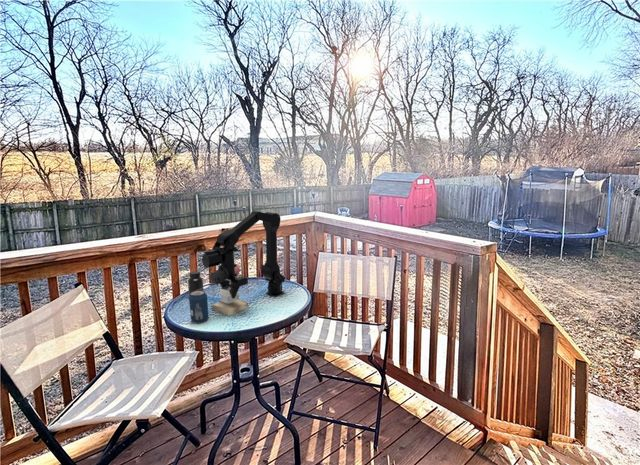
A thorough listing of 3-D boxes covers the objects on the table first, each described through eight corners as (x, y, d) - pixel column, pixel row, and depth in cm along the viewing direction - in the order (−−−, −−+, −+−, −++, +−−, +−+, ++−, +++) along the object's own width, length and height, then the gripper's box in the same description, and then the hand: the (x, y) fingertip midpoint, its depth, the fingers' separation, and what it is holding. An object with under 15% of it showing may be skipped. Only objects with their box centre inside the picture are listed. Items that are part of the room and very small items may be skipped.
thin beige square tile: (232, 302, 173) (232, 296, 172) (248, 307, 166) (248, 302, 166) (212, 309, 164) (212, 304, 164) (228, 316, 158) (228, 310, 157)
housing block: (232, 297, 168) (231, 284, 167) (239, 299, 165) (238, 286, 164) (221, 301, 163) (220, 288, 162) (228, 303, 161) (227, 290, 159)
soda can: (203, 315, 159) (201, 288, 156) (212, 320, 154) (209, 292, 152) (187, 320, 154) (185, 292, 152) (196, 325, 149) (193, 297, 147)
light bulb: (227, 289, 189) (226, 266, 187) (225, 284, 196) (223, 262, 193) (242, 287, 192) (240, 264, 189) (239, 282, 198) (237, 260, 196)
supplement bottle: (199, 299, 176) (197, 275, 174) (186, 298, 177) (184, 274, 175) (206, 294, 183) (204, 270, 180) (193, 293, 184) (191, 270, 182)
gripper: (198, 263, 160) (201, 298, 163) (226, 271, 149) (229, 308, 152) (219, 257, 169) (222, 290, 172) (247, 264, 158) (249, 299, 161)
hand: (229, 297), depth 164 cm, fingers closed on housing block, 4 cm apart
